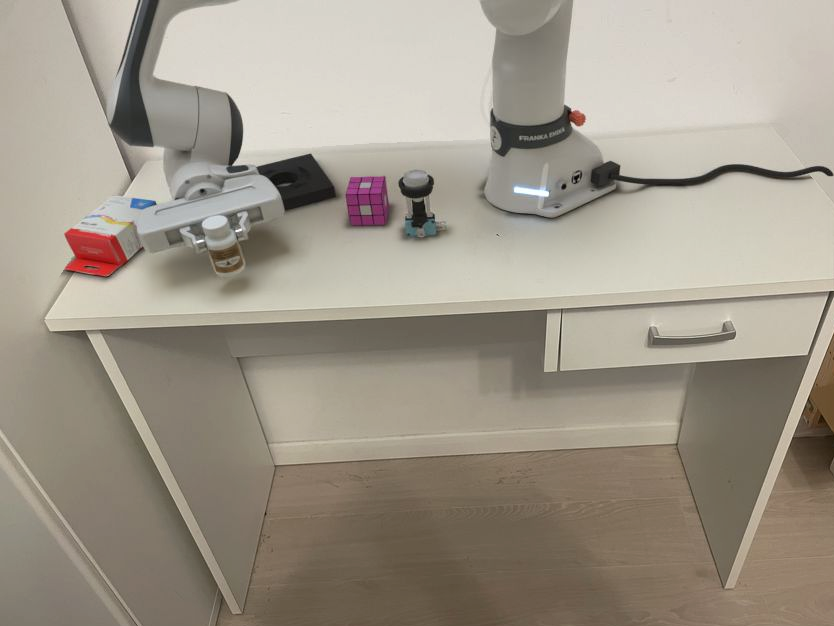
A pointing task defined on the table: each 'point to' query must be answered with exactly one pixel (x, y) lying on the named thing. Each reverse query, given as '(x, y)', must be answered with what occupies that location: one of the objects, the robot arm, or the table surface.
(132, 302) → the table surface
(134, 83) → the robot arm
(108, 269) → the ink box
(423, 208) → the push button
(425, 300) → the table surface
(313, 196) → the pad
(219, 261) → the pill bottle
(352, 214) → the puzzle toy
